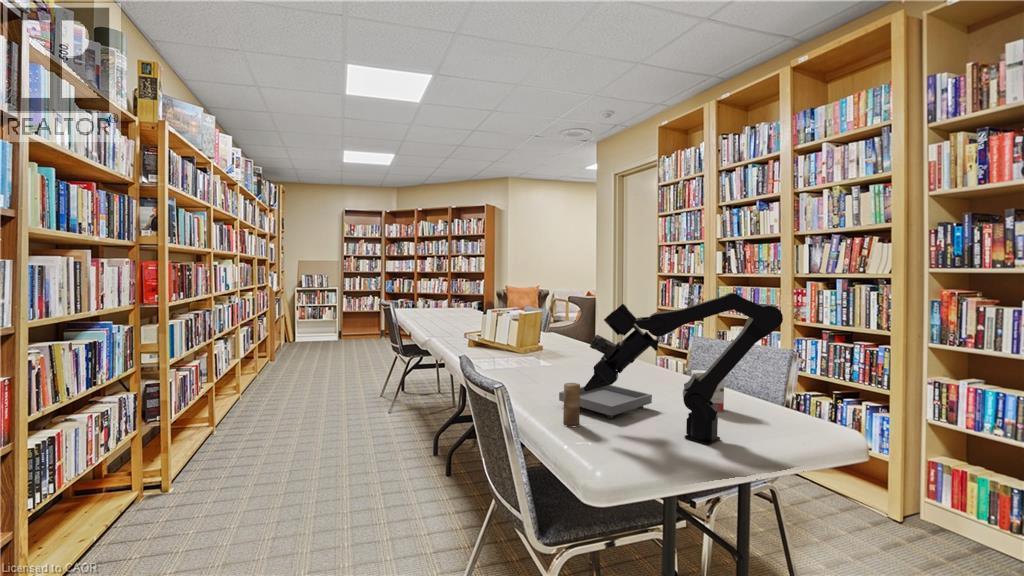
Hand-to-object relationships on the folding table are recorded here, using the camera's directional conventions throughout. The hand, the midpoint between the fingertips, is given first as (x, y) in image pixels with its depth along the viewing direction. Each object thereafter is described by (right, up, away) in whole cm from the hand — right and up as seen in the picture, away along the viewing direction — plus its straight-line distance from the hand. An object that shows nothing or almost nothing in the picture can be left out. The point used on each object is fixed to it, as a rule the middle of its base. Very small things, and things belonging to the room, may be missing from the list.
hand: (587, 386), depth 131 cm
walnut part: (-4, -11, +2) cm, 12 cm away
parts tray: (+8, -10, +18) cm, 22 cm away
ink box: (+39, -11, +17) cm, 44 cm away
